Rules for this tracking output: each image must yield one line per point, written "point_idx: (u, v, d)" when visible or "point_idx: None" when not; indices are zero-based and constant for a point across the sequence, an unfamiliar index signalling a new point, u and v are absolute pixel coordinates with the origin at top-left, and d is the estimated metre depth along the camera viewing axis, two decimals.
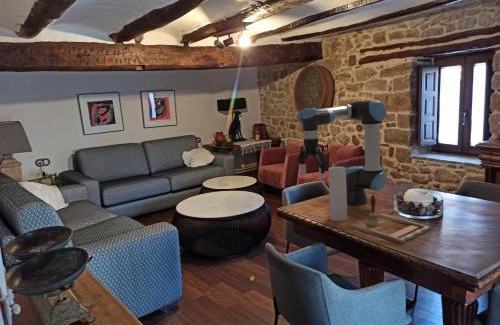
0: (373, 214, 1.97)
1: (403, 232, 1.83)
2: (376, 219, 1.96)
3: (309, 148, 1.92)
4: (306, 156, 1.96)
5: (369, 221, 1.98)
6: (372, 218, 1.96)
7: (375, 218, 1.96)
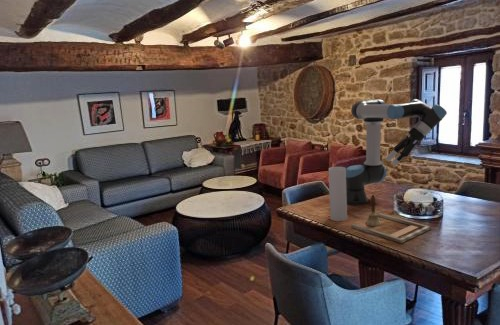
0: (373, 214, 1.97)
1: (403, 232, 1.83)
2: (376, 219, 1.96)
3: None
4: None
5: (369, 221, 1.98)
6: (372, 218, 1.96)
7: (375, 218, 1.96)
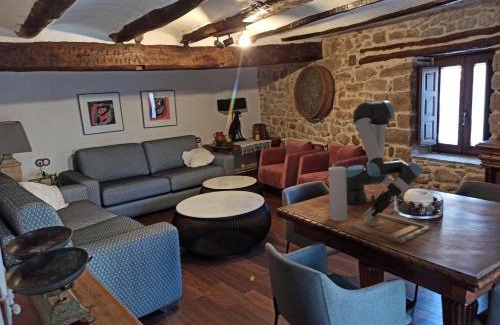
0: None
1: (403, 232, 1.83)
2: (376, 219, 1.96)
3: None
4: None
5: None
6: None
7: (375, 218, 1.96)
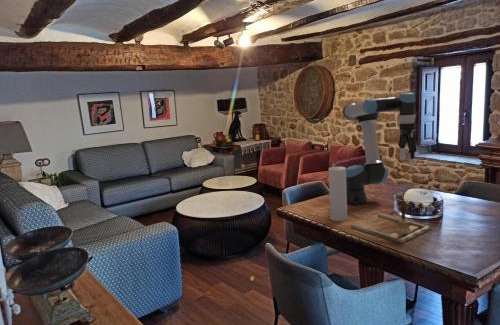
0: (403, 221, 1.82)
1: None
2: (407, 227, 1.81)
3: None
4: None
5: (399, 229, 1.83)
6: (403, 226, 1.82)
7: (406, 225, 1.81)
